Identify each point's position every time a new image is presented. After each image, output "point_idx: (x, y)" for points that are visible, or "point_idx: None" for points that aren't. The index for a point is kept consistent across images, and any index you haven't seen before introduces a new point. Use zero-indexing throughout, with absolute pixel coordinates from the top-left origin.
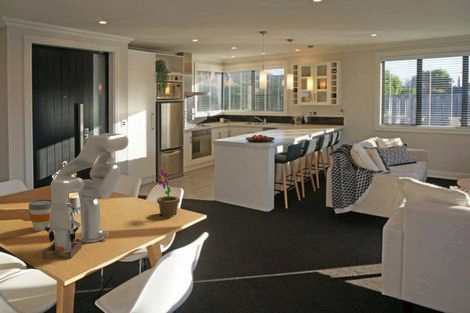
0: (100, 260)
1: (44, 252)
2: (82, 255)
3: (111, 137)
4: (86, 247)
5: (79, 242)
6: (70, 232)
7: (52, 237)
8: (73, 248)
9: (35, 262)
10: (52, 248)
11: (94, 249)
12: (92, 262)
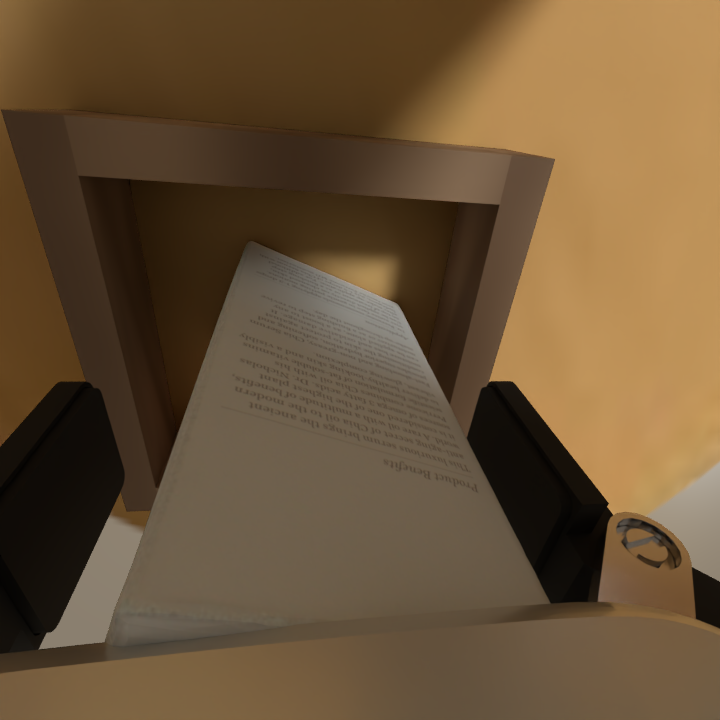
0: (668, 468)
1: (150, 503)
2: (530, 389)
3: None
4: (574, 140)
5: (525, 190)
6: (513, 537)
7: (87, 498)
8: (465, 418)
9: (144, 527)
10: (134, 325)
11: (666, 226)
12: (606, 498)
